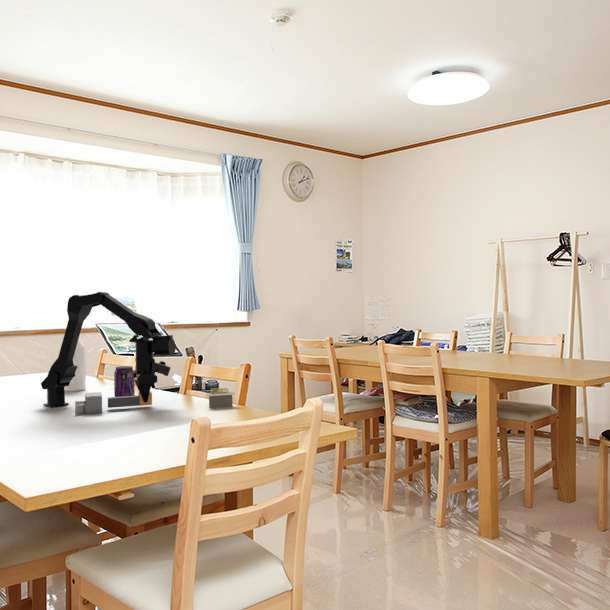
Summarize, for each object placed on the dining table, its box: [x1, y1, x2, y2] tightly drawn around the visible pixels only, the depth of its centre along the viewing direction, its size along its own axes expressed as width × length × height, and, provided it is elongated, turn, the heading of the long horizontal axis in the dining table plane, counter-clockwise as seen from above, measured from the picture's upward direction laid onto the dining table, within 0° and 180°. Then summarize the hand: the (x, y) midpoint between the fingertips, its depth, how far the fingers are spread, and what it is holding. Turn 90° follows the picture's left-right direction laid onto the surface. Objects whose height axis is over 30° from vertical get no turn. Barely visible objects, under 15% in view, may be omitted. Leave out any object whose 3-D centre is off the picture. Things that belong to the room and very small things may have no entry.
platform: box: [205, 387, 237, 409], centre depth 196 cm, size 12×18×7 cm, turn 112°
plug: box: [107, 390, 153, 409], centre depth 195 cm, size 14×4×4 cm, turn 111°
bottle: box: [65, 338, 87, 392], centre depth 243 cm, size 8×8×30 cm
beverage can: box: [113, 365, 136, 397], centre depth 215 cm, size 7×7×12 cm
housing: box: [74, 391, 103, 416], centre depth 190 cm, size 8×10×6 cm
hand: (145, 401), depth 196 cm, fingers closed on plug, 4 cm apart
